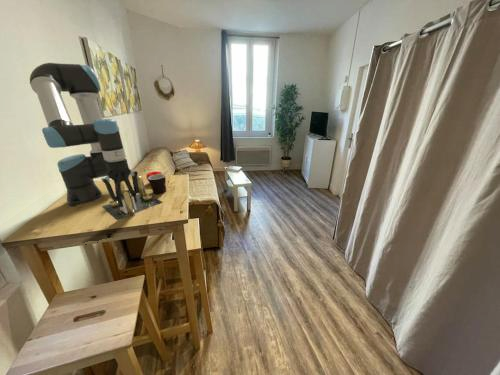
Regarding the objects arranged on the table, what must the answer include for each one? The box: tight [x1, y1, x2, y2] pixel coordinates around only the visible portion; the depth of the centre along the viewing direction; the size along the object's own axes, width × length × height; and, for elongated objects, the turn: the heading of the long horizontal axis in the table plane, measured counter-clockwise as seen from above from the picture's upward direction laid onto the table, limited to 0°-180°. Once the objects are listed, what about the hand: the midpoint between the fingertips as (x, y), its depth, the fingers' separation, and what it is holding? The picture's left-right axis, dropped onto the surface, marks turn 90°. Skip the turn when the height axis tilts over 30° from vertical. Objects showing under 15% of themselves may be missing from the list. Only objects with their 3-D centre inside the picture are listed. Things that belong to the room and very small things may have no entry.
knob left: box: [137, 175, 154, 201], centre depth 107 cm, size 9×4×11 cm, turn 50°
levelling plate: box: [101, 193, 163, 221], centre depth 103 cm, size 20×21×3 cm
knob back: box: [109, 181, 126, 207], centre depth 102 cm, size 9×4×11 cm, turn 170°
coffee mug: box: [148, 173, 167, 195], centre depth 116 cm, size 12×9×10 cm
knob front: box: [120, 189, 136, 217], centre depth 94 cm, size 9×4×11 cm, turn 50°
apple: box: [145, 171, 163, 184], centre depth 128 cm, size 9×9×8 cm
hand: (130, 210), depth 93 cm, fingers closed on knob front, 3 cm apart
